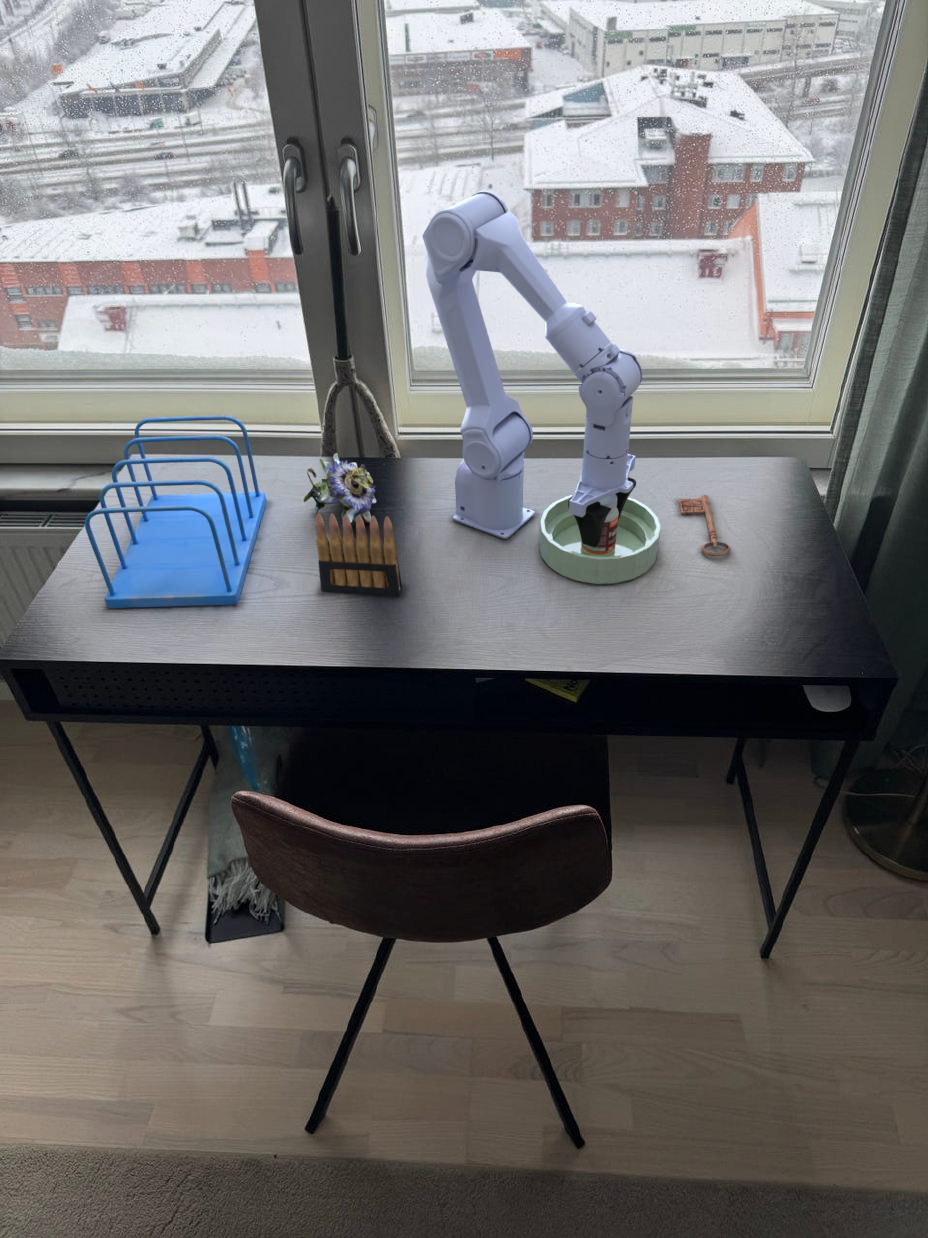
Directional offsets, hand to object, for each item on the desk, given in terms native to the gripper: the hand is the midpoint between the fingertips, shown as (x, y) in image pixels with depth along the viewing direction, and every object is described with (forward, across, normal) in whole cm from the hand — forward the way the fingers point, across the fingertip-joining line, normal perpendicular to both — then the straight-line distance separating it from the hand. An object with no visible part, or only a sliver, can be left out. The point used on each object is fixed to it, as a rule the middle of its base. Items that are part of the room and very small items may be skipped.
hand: (599, 535), depth 128 cm
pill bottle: (+2, 0, 0) cm, 2 cm away
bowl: (+3, 0, 0) cm, 3 cm away
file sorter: (+3, -32, +48) cm, 57 cm away
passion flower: (+3, -13, +36) cm, 38 cm away
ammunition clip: (+3, -25, +22) cm, 33 cm away
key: (+3, +13, -10) cm, 17 cm away
